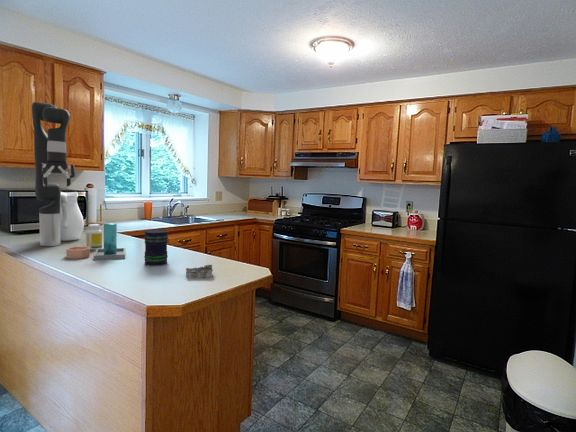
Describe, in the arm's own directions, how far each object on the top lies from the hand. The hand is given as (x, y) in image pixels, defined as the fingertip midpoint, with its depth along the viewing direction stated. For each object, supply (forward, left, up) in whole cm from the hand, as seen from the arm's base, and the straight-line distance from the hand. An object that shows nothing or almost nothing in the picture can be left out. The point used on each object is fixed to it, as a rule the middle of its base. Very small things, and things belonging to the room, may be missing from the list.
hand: (57, 186), depth 163 cm
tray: (+9, +23, -33) cm, 41 cm away
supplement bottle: (-10, +14, -33) cm, 37 cm away
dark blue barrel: (+30, +42, -33) cm, 61 cm away
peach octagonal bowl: (+8, +9, -33) cm, 35 cm away
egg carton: (+55, +57, -33) cm, 86 cm away
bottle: (+9, +23, -32) cm, 40 cm away
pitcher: (-40, -2, -33) cm, 51 cm away
